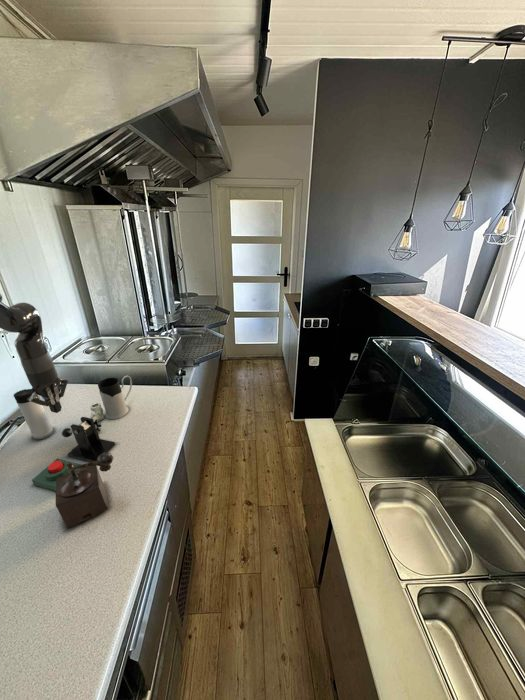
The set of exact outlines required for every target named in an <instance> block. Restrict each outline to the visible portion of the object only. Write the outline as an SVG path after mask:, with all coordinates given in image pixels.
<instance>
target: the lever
mask: <svg viewBox="0 0 525 700" xmlns="http://www.w3.org/2000/svg"><path fill="white" fill-rule="evenodd" d="M78 425H79V426H83V427H84V430H86V429H87V428H89V427H90V425H89V424H88V423H87V421H84V422H80V423H79V424H78ZM72 435H73V432H72V429H71V427H65V428H64V429H63V430H62V431H61V436H62V437H63V438H70V437H71V436H72Z"/></svg>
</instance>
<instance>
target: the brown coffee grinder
mask: <svg viewBox="0 0 525 700" xmlns="http://www.w3.org/2000/svg"><path fill="white" fill-rule="evenodd" d="M113 460H114V456H113V455H112V453H111V452H107V453H102V454H100V455H99V456H98V458H97V462H86V463H80V464H81V465H77V466H73V465H72V463H71V462H72V461H70V462H69V463H67V467H68V471H70V472H71V473H69V474H66V475H63V476H61V477H58V478H56V491H55V507H56V509H57V510H58V513H59V515H60V517H61V518H62V520H63V522H64V524H65V526H66V528H67V529H70V528H72V527H74V526H77V525H79V524H81V523H83V522H87V521H88V520H90V519H92V518H94V517H95V516H97V515H99V514H101V513H103V512H105V511H106V510H108V508H109V501H108V493H107V488H106V485H105V483H104V481H103V479H102V477H101V474H100V472H99V471H101V472H108V471H110V470H111V467H112V463H113ZM98 467H99V469H98ZM79 468H81V469H79ZM74 469H79V470H76V471H74Z"/></svg>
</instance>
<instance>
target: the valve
mask: <svg viewBox="0 0 525 700" xmlns="http://www.w3.org/2000/svg"><path fill="white" fill-rule="evenodd" d="M89 409H90V412H91V416H90V418H92V419H93V421H94V424H95V427H96V430H97V432H101V430H102V427H103V423H99V422H100V421H102V420H104V418H105V413H104V409H103V408H102V404H101V403H100V402H94V403H92V404H90V407H89Z"/></svg>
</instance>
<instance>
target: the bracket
mask: <svg viewBox="0 0 525 700" xmlns="http://www.w3.org/2000/svg"><path fill="white" fill-rule="evenodd" d="M79 419H80V423H82V422H84V421H87V423H88V424H89V425H90V427H89V428H87V429H86V430H84V427H83V426H79V424H75V423H74V424H73V423H72V424H71V425H70V426H69V428H70V429H72V432H73V433H72V435H73V437H74V439H75V441H76V444H77V445H76V446H75V447H73V448H72V449H71V450H70V451H69V452H68V453H67V457H69V458H72V459H76V460H81V461H85V462H87V463H91V462H97V458H98V456H99V455H100V454H102V453H109V451H111V449H113V448H114V446H115V445H116V443H115V441H112V440H107V439H103V438H100V435H99V433H98V431H97V430H96V428H97V426H95V424H94V421H93V419H92V418H91V417H86V416H81V417H80V418H79Z"/></svg>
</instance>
